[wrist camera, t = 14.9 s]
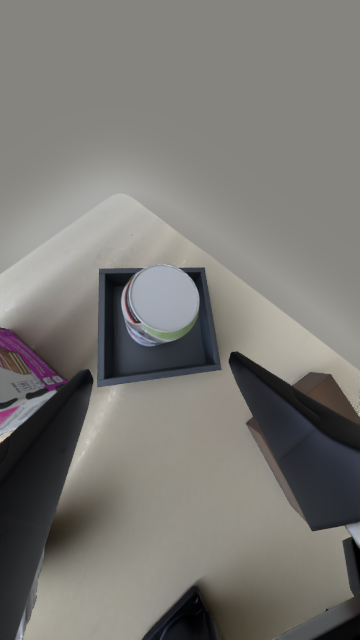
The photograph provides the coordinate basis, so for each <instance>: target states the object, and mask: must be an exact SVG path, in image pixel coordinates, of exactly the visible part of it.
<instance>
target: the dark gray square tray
mask: <svg viewBox="0 0 360 640" xmlns="http://www.w3.org/2000/svg"><path fill="white" fill-rule="evenodd" d="M142 269H144V268H114V269H99V314H98V374H97V380H98V381H97V387H102V386H109V385H116V384H123V383H131V382H138V381H145V380H152V379H159V378H166V377H173V376H180V375H188V374H195V373H202V372H209V371H216V370H221V364H220V358H219V352H218V346H217V340H216V334H215V328H214V322H213V316H212V310H211V304H210V298H209V292H208V286H207V280H206V274H205V268H179V269H181V270H182V271H184V272H185V273H186V274H187V275H188V276H189V277H190V278H191V279H192V280H193V282H194V283H195V285H196V287H197V290H198V293H199V311H198V316H197V319H196V322H195V324H194V325H193V327H192V328H191V329H190V331H189V332H188V333H186V334H185V335H184V336H182V337H181V338H179V339H177V340H173V341H170V342H167V343H163V344H160V345H156V346H151V347H149V346H142V345H140V344H138V343H136V342H135V341H134V340H133V339H132V338H131V337H130V335H129V333H128V330H127V326H126V323H125V319H124V315H123V311H122V305H121V299H122V293H123V290H124V287H125V286H126V284H127V282H128V281H129V280H130V279H131V277H132V276H133V275H135V274H136V273H137V272H139V271H141V270H142Z"/></svg>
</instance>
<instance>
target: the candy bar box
mask: <svg viewBox="0 0 360 640" xmlns="http://www.w3.org/2000/svg"><path fill="white" fill-rule="evenodd" d="M66 383H67V381H66V380H65V379H64V378H62V377H61V376H60V375H59V374H58V373H57V372H56V371H55V370H53V369H52V368H51V367H50V366H49V365H48V364H47V363H45V362H44V361H43V360H42V359H41V358H40V357H39V356H38V355H37V354H36V353H34V352H33V351H32V350H31V349H30V348H29V347H28V346H27V345H26V344H25V343H23V342H22V341H21V340H20V339H19V338H18V337H17V336H16V335H15V334H14V333H12V332H11V331H10V330H9V329H5V328H0V435H2V434H4V433H6V432H8V431H10V430H12V429H14V428H16V427H18V426H20V425H21V424H22V423H23V422H24V421H26V420H27V419H28V418H29V417H30V416H31V415H32V414H33V413H34V412H35V411H36V410H38V409H39V408H40V407H41V406H42V405H43V404H44V403H45V402H46V401H47V400H48V399H50V398H51V397H52V396H53V395H54V394H55V393H56V392H57V391H58V390H59V389H60V388H62V387H63V386H64V385H65V384H66Z"/></svg>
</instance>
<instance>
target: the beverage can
mask: <svg viewBox="0 0 360 640" xmlns="http://www.w3.org/2000/svg"><path fill="white" fill-rule="evenodd" d="M121 305H122V311H123V315H124V319H125V323H126V326H127V330H128V333H129V335H130V337H131V338H132V339H133V340H134V341H135V342H136V343H138V344H140V345H142V346H149V347H151V346H156V345H160V344H163V343H167V342H170V341H173V340H177V339H179V338H181V337H182V336H184V335H185V334H186V333H188V332H189V331H190V329H191V328H192V327H193V325H194V324H195V322H196V319H197V316H198V311H199V293H198V290H197V287H196V285H195V283H194V282H193V280H192V279H191V278H190V277H189V276H188V275H187V274H186V273H185V272H184V271H182V270H181V269H179V268H177V267H174V266H172V265H167V264H155V265H151V266H148V267H146V268H144V269H142V270H141V271H139V272H137V273H136V274H135V275H133V276H132V277H131V279H130V280H129V281H128V282H127V284H126V286H125V287H124V290H123V293H122V299H121Z"/></svg>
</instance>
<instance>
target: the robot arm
mask: <svg viewBox="0 0 360 640" xmlns="http://www.w3.org/2000/svg"><path fill="white" fill-rule="evenodd" d="M229 365H230V367H231V370H232V373H233V375H234V378H235V380H236V383H237V385H238V387H239V389H240V391H241V393H242V395H243V397H244V399H245V401H246V403H247V405H248V407H249V409H250V411H251V413H252V415H253V417H254V419H255V421H256V423H257V425H258V426H259V428H260V430H261V432H262V434H263V436H264V438H265V440H266V442H267V444H268V446H269V448H270V450H271V452H272V454H273V456H274V458H275V460H276V462H277V463H278V466H279V468H280V470H281V472H282V474H283V476H284V478H285V480H286V482H287V484H288V486H289V488H290V490H291V492H292V494H293V496H294V498H295V499H296V501H297V503H298V505H299V507H300V509H301V511H302V513H303V515H304V517H305V519H306V521H307V523H308V525H309V527H310V528H311V530H312V531H317V530H323V529H328V528H333V527H339V526H345V527H346V529H347V530H348V532H349V533H350V535H351V536H352V537H350V538H348V539H345V540H343V547H344V553H345V559H346V566H347V572H348V578H349V584H350V589H351V591H352V593H353V595H354V596H355V597H353V598H351V599H349V600H347V601H345V602H344V603H342V604H340V605H338V606H336V607H334V608H332V609H330V610H328V611H326V612H324V613H322V614H320V615H318V616H316V617H314V618H312V619H310V620H308V621H307V622H305V623H303V624H301V625H299V626H297V627H295V628H293V629H291V630H289V631H287V632H285V633H283V634H281V635H279V636H277V637H275V638H273V639H272V640H360V424H357V423H355V422H353V421H352V420H350V419H348V418H346V417H344V416H342V415H341V414H339V413H337V412H335V411H334V410H332V409H330V408H328V407H326V406H325V405H323V404H321V403H319V402H318V401H316V400H314V399H312V398H311V397H309V396H307V395H306V394H304V393H302V392H301V391H299V390H298V389H296V388H294V387H293V386H291V385H290V384H288V383H286V382H285V381H283V380H282V379H280V378H279V377H277V376H275V375H274V374H272V373H271V372H269V371H268V370H266V369H264V368H263V367H261V366H260V365H258V364H256V363H255V362H253V361H252V360H250V359H249V358H247V357H245V356H244V355H242V354H241V353H239V352H237V351H236V352H231V354H230V358H229ZM92 386H93V377H92V374H91V372H90V370H89V369H85V370H80V371H79V372H78V373H77V374H76V375H75V376H74V377H72V378H71V379H70V380H69V381H68V382H67V383H66V384H65V385H64V386H63V387H62V388H60V389H59V390H58V391H57V392H56V393H55V394H54V395H53V396H52V397H51V398H50V399H48V400H47V401H46V402H45V403H44V404H43V405H42V406H41V407H40V408H39V409H38V410H36V411H35V412H34V413H33V414H32V415H31V416H30V417H29V418H28V419H27V420H26V421H24V422H23V423H22V424H21V425H20V426H19V427H18V428H17V429H16V430H15V431H14V432H12V433H11V434H10V436H8V437H7V438H6V439H5V440H4V441H3V442H1V443H0V640H15V639H16V636H17V633H18V630H19V626H20V623H21V620H22V617H23V614H24V611H25V607H26V604H27V601H28V598H29V595H30V592H31V588H32V585H33V582H34V579H35V576H36V572H37V569H38V566H39V563H40V560H41V557H42V553H43V550H44V547H45V544H46V541H47V537H48V534H49V531H50V526H51V524H52V521H53V518H54V515H55V512H56V508H57V505H58V502H59V499H60V496H61V493H62V489H63V486H64V483H65V480H66V477H67V473H68V470H69V467H70V464H71V461H72V458H73V454H74V451H75V448H76V445H77V442H78V438H79V435H80V432H81V429H82V426H83V423H84V419H85V416H86V413H87V410H88V405H89V401H90V396H91V391H92ZM142 640H223V638H222V636H221V634H220V631H219V629H218V627H217V624H216V622H215V620H214V617H213V615H212V613H211V611H210V610H208V611H207V609H206V606H205V604H204V602H203V599H202V597H201V595H200V592H199V590H198V588H197V587H196V586H193V587H192V588H191V589H190V590H189V591H188V592H187V593H186V594H185V595H184V596H183V597H182V598H181V599H180V600H179V601H178V602H177V603H176V605H175V606H174V607H173V608H172V609H171V610H170V611H169V612H168V613H167V614H166V615H165V616H164V617H163V618H162V619H161V620H160V621H159V622H158V623H157V624H156V625H155V626H154V627H153V628H152V629H151V630H150V631H149V632H148V633H147V634H146V635H145V637H144V638H143V639H142Z"/></svg>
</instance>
